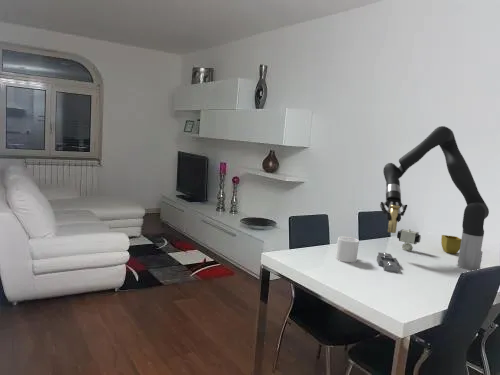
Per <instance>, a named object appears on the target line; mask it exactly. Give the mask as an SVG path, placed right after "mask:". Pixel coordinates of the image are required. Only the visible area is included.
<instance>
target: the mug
mask: <svg viewBox="0 0 500 375" xmlns="http://www.w3.org/2000/svg"><path fill="white" fill-rule="evenodd" d="M359 243H360V240H359V239H357V238H355V237H350V236H338V238H337V242H336V253H335V259H336V260H337V259H338V260H337V261H339V260H340V261H339V262H342V261H343V262H342V263H347V262H351V263H350V264H354V263H356V262H357V260H358V251H359ZM353 262H354V263H353Z"/></svg>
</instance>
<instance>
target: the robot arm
mask: <svg viewBox="0 0 500 375" xmlns="http://www.w3.org/2000/svg"><path fill="white" fill-rule="evenodd" d="M437 146H439V147H440V149H441V151H442V153H443V155H444V158H445V163H446V167H447V171H448V175H449V176H450V178H451V180H452V182H453V184H454V185H455V187H456V189H458V190H459V192H460V193H461V195H462V196H463V198H464V201H465V203H466V206H465V208H464V211H463V215H462V216H463V217H462V226H461V227H462V233H461V238H460V239H461V245H460V250H459V251H458V253H459V254H458V258H457V267H459V268H461V269H465V270H468V271H476V270H475V269H480V270H481V265H482V259H483V251H482V247H483V242H484V235H485V230H484V225H485V220H486V218H487V217H489V214H490V213H489V212H490V209H489V207H488V206H487V205H488V204H486V201H485V200H484V199H483V197H482V195H481V193H480V192H479V189H478V187H477V184H476V182H475V180H474V177H473V175H472V172H471V169H470V168H469V165H468V163H467V161H466V159H465V157H463V154H462V153H461V151H460V149H459V146H458V143H457V140H456V138H455V134H454V132H453V130H452V129H451V128H449V127H447V126H445V125H443V126H438V127H436V128H435V129H434V130H433V131H432V132H430V134H429V135H428V136H427V137H426V138H424V139H423V141H421V142H420V143H419V144H418V145H416V146H415V147H414V148H412V149H411V150H409V151H408V152H407V153H406V154H404V155H403V156H401V157H400V158H399V159H398V163H399V165H400V166H399V167H398V166H397V165H396V164H395V163H393V162H388V163H386V164H385V165H384V167H383V176H384V180H385V182H386V183H385V184H386V185H385V187H386V188H385V202H383V201H381V202H380V205H379V206H380V209H381V212H382V214H384V215H385V214H386V220H387V221H388V222H389V221H390V209H391V207H390V205H399V206H400V208H399V212H398V219H397V223H399V222H400V221H401V220H402V217H404V215H405V214H406V210H407V208H408V204H403V203H402V191H401V182H400V179H401V178H402V177H403V175H404V174H405V173H406V172H407V171H408V170H409V168H411V167H412V166H414V165H415V164H417V163H418V162H419V161H420V160H421V159H423V157H424V156H425V155H426V154H428V153H429V152H430V151H431V150H433V149H435V148H436V147H437ZM386 208H388V209H386ZM401 208H402V211H401Z"/></svg>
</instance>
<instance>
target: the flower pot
mask: <svg viewBox="0 0 500 375" xmlns="http://www.w3.org/2000/svg"><path fill="white" fill-rule="evenodd" d="M461 239H462V238H460V237H458V236H455V235H454V236H453V235H447V234H446V235H445V234H441V248H442V250H443V251H444V252H445V253H447V254H453V255H456V254H458V253H459V251H460V245H461Z"/></svg>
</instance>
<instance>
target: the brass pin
mask: <svg viewBox="0 0 500 375" xmlns="http://www.w3.org/2000/svg"><path fill="white" fill-rule="evenodd" d="M390 207H391V209H390V221H388V224H387V225H388V227H387V233H392V234H397V233H396V232H397V226H398V222H397V219H398V212H399V208H400V209H401V207H400V206H399V205H390Z"/></svg>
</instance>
